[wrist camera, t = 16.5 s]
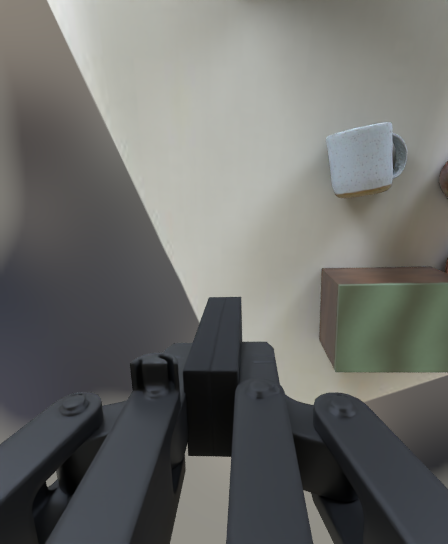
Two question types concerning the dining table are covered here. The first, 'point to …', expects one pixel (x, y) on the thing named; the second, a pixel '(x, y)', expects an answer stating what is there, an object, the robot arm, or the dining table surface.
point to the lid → (392, 327)
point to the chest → (362, 276)
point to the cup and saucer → (447, 268)
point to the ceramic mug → (365, 160)
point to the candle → (444, 179)
